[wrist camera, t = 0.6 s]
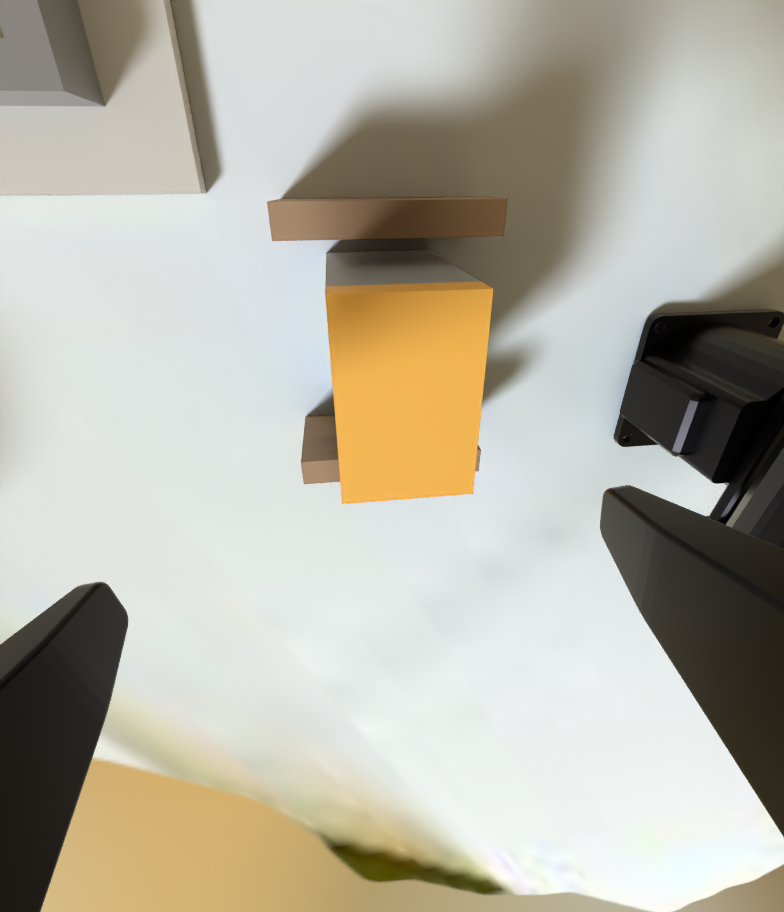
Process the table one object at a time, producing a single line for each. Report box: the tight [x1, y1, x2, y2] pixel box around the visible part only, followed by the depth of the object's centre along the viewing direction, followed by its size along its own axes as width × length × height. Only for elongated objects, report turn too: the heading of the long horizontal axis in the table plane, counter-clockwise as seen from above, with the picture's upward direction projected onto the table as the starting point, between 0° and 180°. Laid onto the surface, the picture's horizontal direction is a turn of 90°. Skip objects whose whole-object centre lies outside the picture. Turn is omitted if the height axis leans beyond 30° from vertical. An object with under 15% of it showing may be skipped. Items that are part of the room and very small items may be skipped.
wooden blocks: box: [267, 197, 507, 484], centre depth 17 cm, size 7×10×4 cm
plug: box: [325, 250, 493, 504], centre depth 16 cm, size 4×6×8 cm, turn 1°
